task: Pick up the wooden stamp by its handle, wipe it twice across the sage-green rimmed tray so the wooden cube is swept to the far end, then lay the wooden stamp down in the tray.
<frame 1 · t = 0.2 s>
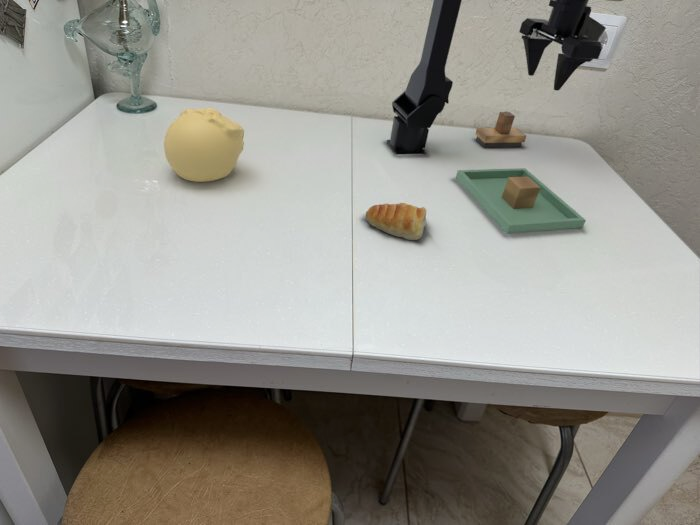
hand: (543, 82, 100), 14 cm above the table, tool pointing down, fingers open, 9 cm apart
wooden stamp: (498, 143, 109), on the table
tray: (514, 204, 87), on the table
pastry: (398, 228, 77), on the table
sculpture: (205, 173, 84), on the table
wooden cube: (517, 202, 86), point 1 cm above the table, touching tray
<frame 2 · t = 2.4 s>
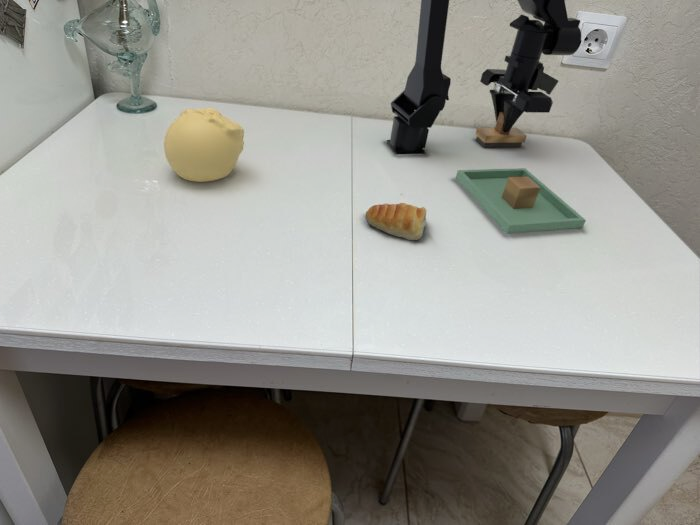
hand: (502, 129, 107), 3 cm above the table, tool pointing down, fingers closed on wooden stamp, 2 cm apart
wooden stamp: (498, 143, 109), on the table, touching gripper
everything else where it was.
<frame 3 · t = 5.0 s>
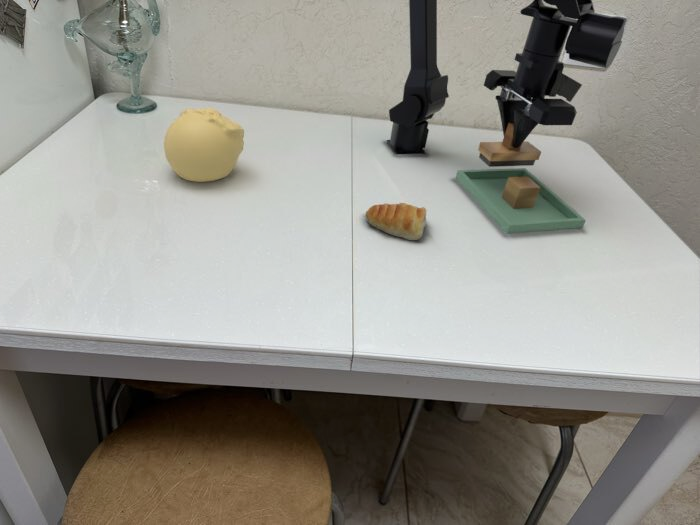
hand: (511, 144, 87), 8 cm above the table, tool pointing down, fingers closed on wooden stamp, 2 cm apart
wooden stamp: (506, 161, 89), point 5 cm above the table, touching gripper
everything else where it was.
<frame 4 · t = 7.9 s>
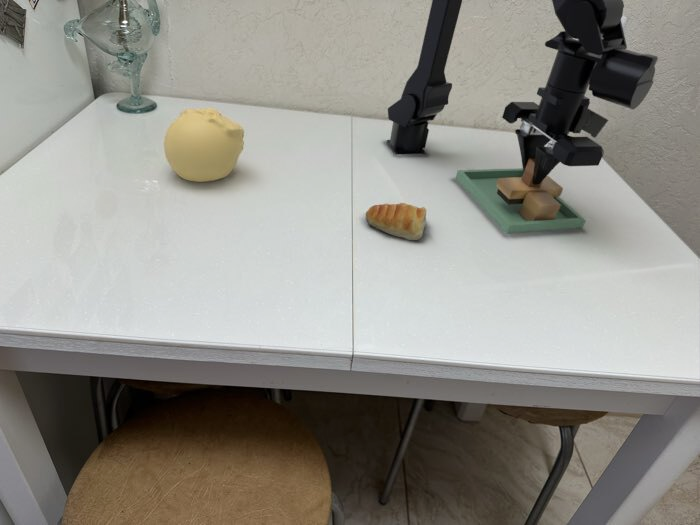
hand: (531, 180, 82), 6 cm above the table, tool pointing down, fingers closed on wooden stamp, 2 cm apart
wooden stamp: (525, 197, 84), point 2 cm above the table, touching gripper
wooden cube: (534, 218, 82), point 1 cm above the table, touching tray
everything else where it was.
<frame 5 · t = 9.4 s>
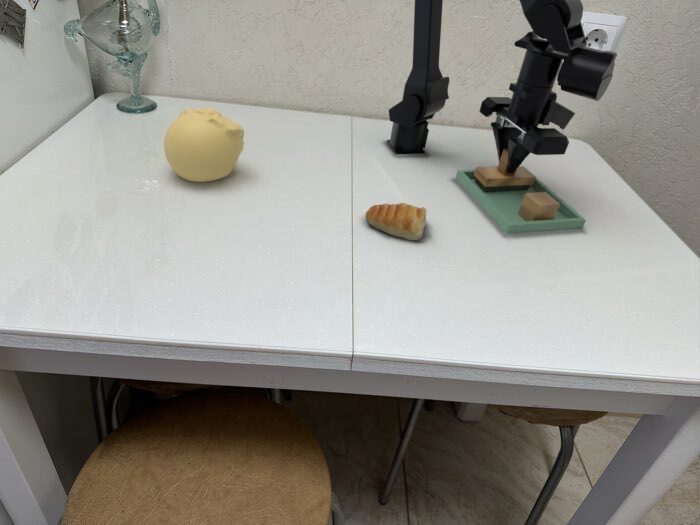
hand: (506, 169, 88), 4 cm above the table, tool pointing down, fingers closed on wooden stamp, 2 cm apart
wooden stamp: (501, 185, 90), point 1 cm above the table, touching gripper
everything else where it was.
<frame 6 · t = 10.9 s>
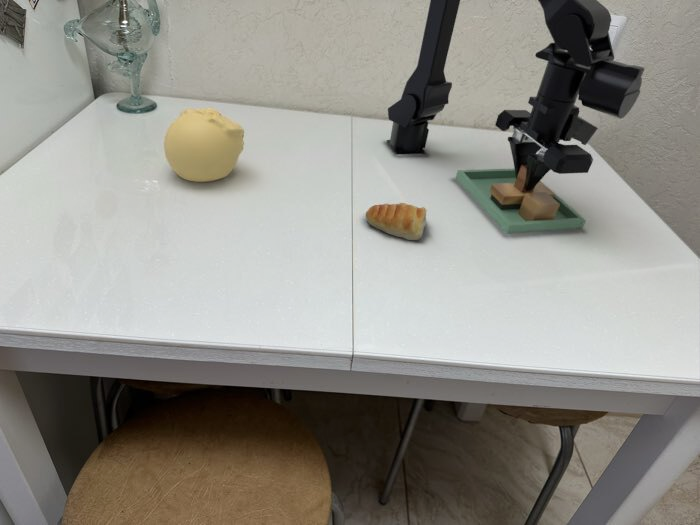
hand: (523, 186, 84), 4 cm above the table, tool pointing down, fingers closed on wooden stamp, 2 cm apart
wooden stamp: (518, 202, 86), point 1 cm above the table, touching gripper, tray
everything else where it was.
when the fingers open (4 cm above the table, at t = 12.7 s): wooden stamp stays where it is, resting on tray.
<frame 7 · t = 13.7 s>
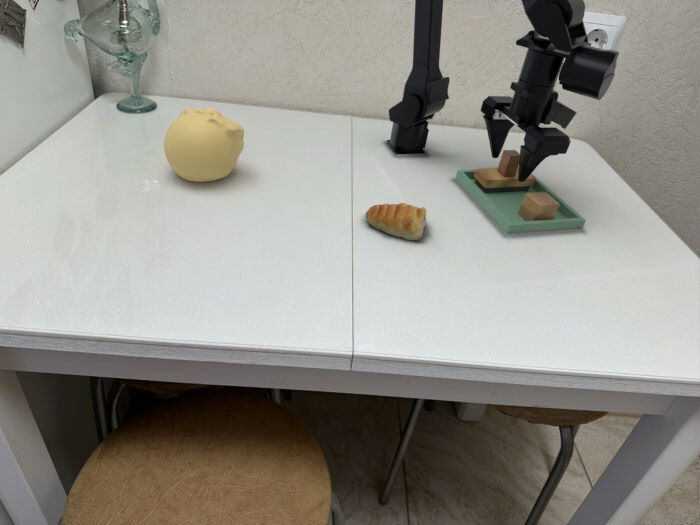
hand: (507, 169, 88), 4 cm above the table, tool pointing down, fingers open, 9 cm apart
wooden stamp: (501, 187, 90), point 1 cm above the table, touching tray
everything else where it was.
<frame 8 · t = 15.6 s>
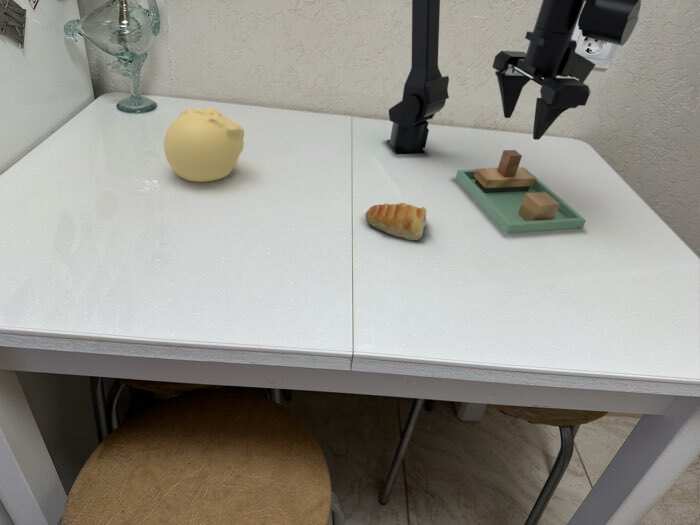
hand: (521, 128, 83), 12 cm above the table, tool pointing down, fingers open, 9 cm apart
nothing on the table moved.
at the end: wooden cube inside the target area in the tray (0.0 cm from its centre), point 0.6 cm above the tray's base; wooden stamp inside the target area in the tray (5.0 cm from its centre), point 0.6 cm above the tray's base; the gripper is holding nothing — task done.
